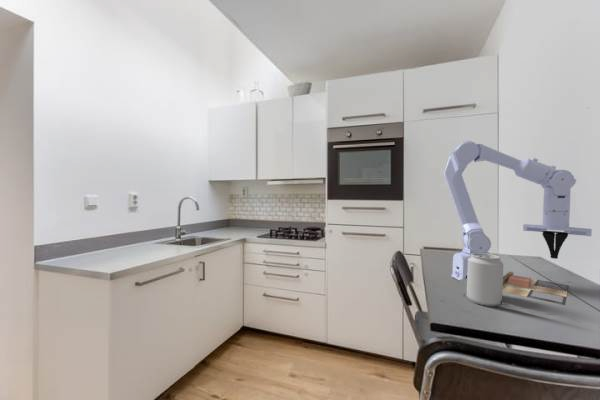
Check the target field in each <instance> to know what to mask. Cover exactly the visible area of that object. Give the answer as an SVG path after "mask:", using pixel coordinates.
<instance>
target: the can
mask: <svg viewBox="0 0 600 400" xmlns="http://www.w3.org/2000/svg"><path fill="white" fill-rule="evenodd" d="M500 259H501V257H500V256H498V255H495V254H491V253H489V254H484V253H472V254H471V257H470V258H469V259H468V271H467V276H466V278H467V279H466V297H467V298H468V299H469V300H470V301H471V302H473V303H474V304H477V305H481V306H484V305H485V306H486V307H497V306H499V305H500V304H502V302H503V301H502V300H503V292H502V289H503V277H504V263H503V262H502V261H501V260H500ZM485 306H484V307H485Z"/></svg>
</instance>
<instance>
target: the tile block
mask: <svg viewBox="0 0 600 400" xmlns="http://www.w3.org/2000/svg"><path fill="white" fill-rule="evenodd" d="M531 279H532V278H531V277H525V276H520V275H514V274H513V275H511V276H510V277H509V285H513V286H518V287H523V288H528V289H529V287H530V286H531Z"/></svg>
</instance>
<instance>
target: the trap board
mask: <svg viewBox="0 0 600 400" xmlns="http://www.w3.org/2000/svg"><path fill="white" fill-rule="evenodd" d="M511 275H514V272H513V271H508V272H507V273H506V274H505V275H503V289H502V293H509V294H513V295H516V296H522V297H525V298H530V299H535V300H540V301H545V302H547V303H548V302H549V303H554V304H558V305H563V306H565V305H566V300H567V295H568V291H569V287H570V285H569V284H568V285H567V284H561V283H557V282H552V281H546V280H541V279H534V278H531V286H530V287H529V289H528V288H523V287H518V286H513V285H509V277H510V276H511ZM538 283H545V284H550V285H556V286H561V287H565V289H564V290H563V289H558V288H551V287H547V286H542V285H538ZM534 291H535V292H538V293H543V294H548V295H554V296H559V297H563V298H562V302H561V301H557V300H552V299H548V298H543V297H538V296H534V295H532V293H533V292H534Z"/></svg>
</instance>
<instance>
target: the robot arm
mask: <svg viewBox="0 0 600 400" xmlns="http://www.w3.org/2000/svg"><path fill="white" fill-rule="evenodd" d="M484 161H485V162H489V163H492V164H494V165H498V166H501V167H505V168H507V169H509V170H511V171H513V172H514V174H515V175H516V177H518V178H522V179H524V180H527V181H529V182H532V183H534V184H536V185H537V184H538V185H540V186H541V187H542V188H543V199H542V200H543V201H542V202H543V205H542V224H530V223H529V224H528V223H527V224H525V223H524V224H522V231H525V232H540V233H542V234H541V235H542V237H543V239H544V241H545V243H546V245H547V247H548V250H549V254H550V259H556V260H557V259H558V258H559V253H560V250H561V247H562V246H563V244H564V242H565V241H566V240H567V238H568V236H569V235H575V236H586V237H592V231H593V229H592V228H586V227H585V228H584V227H574V226H573V227H571V226H570V218H571V217H570V213H571V212H570V211H571V189H572V188H573V187H574V186H575V184H576V182H577V179H576V178H575V176H574V174H572V172H571V171H569V170H566V169H556V168H557V167H556V165H548V164H545V163H542V162H540V161H539V159H538V158H534V157H533V158H525V159H521V160H520V159H518V158H516V157H513V156H511V155H509V154H506V153H503V152H501V151H499V150H496V149H494V148H491V147H490V146H487V145H484V144H481V143H476V142H474V141H472V140H465V141H463V142H460V143H459V144H458V145H457V146H456V147H455V149H453V151H452V152H451V153H450V154H449V156H448V159H447V163H446V166H445V169H444V172H443V175H444V179H445V182H446V184H447V187H448V191H449V194H450V196H451V200H452V201H453V204H454V207H455V211H456V214H457V216H458V220H459V222H460V224H461V225H460V226H461V231H462V237H461V238H462V239H461V242H462V243H463V245H464V247H463V248H462V251H461V252H456V253H454V255H453V257H452V272H451V273H452V274H451V275H450V276H451V277H452V278H453V279H455V280H457V281H461V280H463V279H466V280H467V271H468V259H469V258H470V257H471V254H472V253H484V254H490V252H489V250H491V247H492V242H491V239H490V238H489V237H488V235H486V234H485V232H484V230H483V227H482V226H481V224H480V222H479V220H478V218H477V215H476V212H475V209H474V206H473V203H472V200H471V197H470V195H469V192H468V189H467V186H466V182H465V180H464V178H463V173H464V171H466V168H467V167H468V165H469V164H470V163H472V162H474V163H477V162H484Z"/></svg>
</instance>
